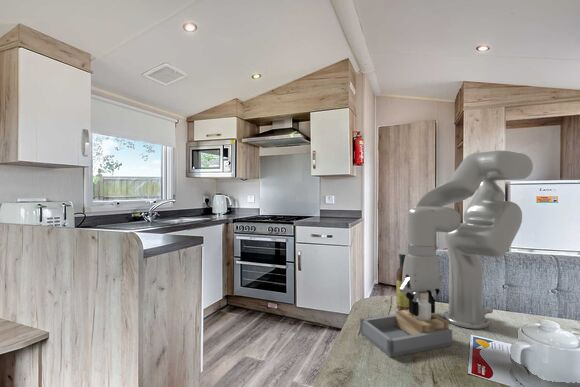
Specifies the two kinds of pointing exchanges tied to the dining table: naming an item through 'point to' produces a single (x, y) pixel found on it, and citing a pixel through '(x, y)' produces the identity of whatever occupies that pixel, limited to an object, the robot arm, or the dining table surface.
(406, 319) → the shaker cabinet door
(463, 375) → the dining table surface
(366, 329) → the tray
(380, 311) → the dining table surface
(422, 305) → the salt shaker
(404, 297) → the sauce bottle
